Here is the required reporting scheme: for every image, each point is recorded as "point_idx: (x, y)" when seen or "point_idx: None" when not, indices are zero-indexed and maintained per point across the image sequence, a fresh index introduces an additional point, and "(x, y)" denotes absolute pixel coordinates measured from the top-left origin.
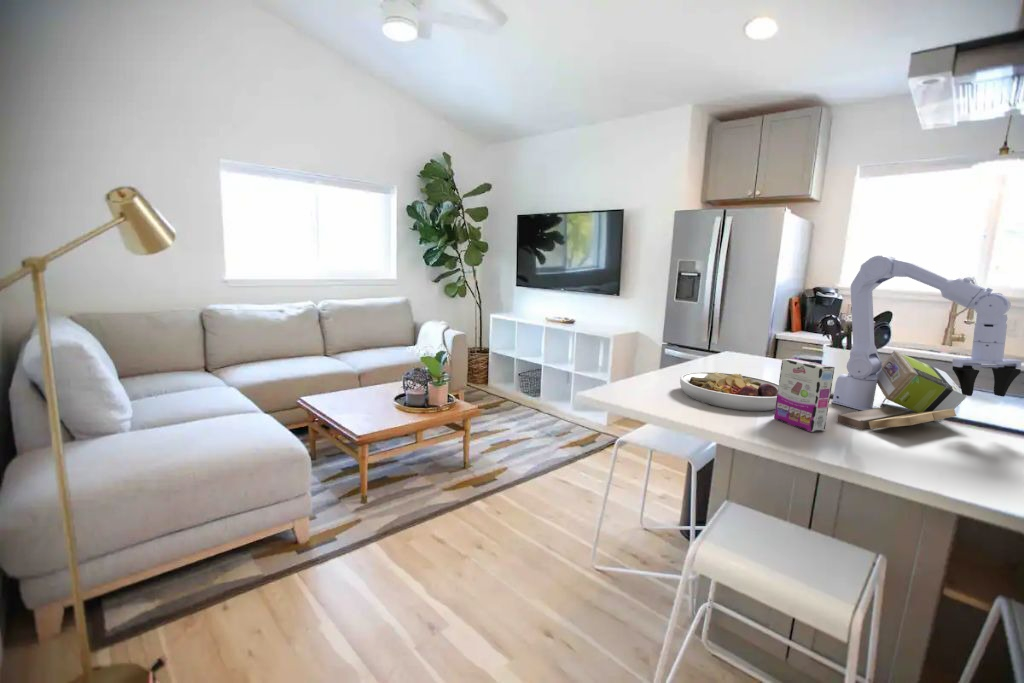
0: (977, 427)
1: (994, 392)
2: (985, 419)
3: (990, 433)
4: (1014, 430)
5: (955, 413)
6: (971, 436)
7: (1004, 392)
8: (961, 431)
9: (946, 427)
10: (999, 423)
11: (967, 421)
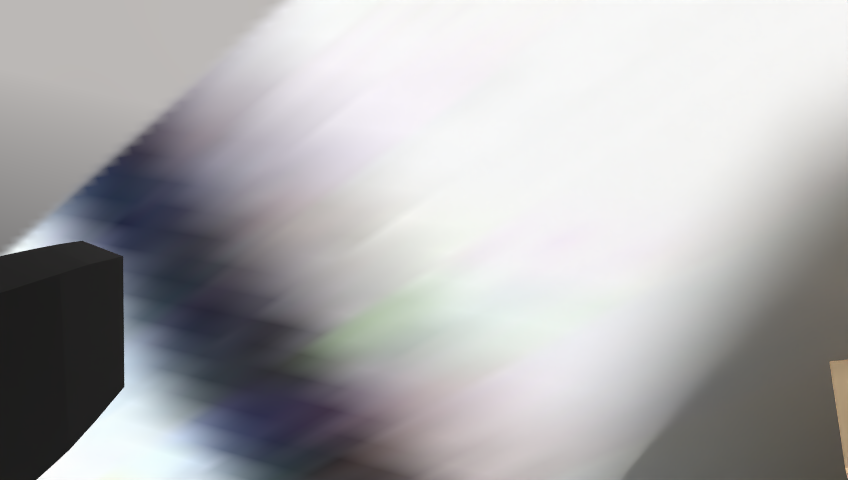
0: (339, 310)
1: (93, 413)
2: None
3: (394, 155)
4: (85, 190)
5: (839, 394)
6: (774, 97)
7: (28, 269)
8: (680, 254)
9: (708, 382)
10: None
11: (264, 436)
